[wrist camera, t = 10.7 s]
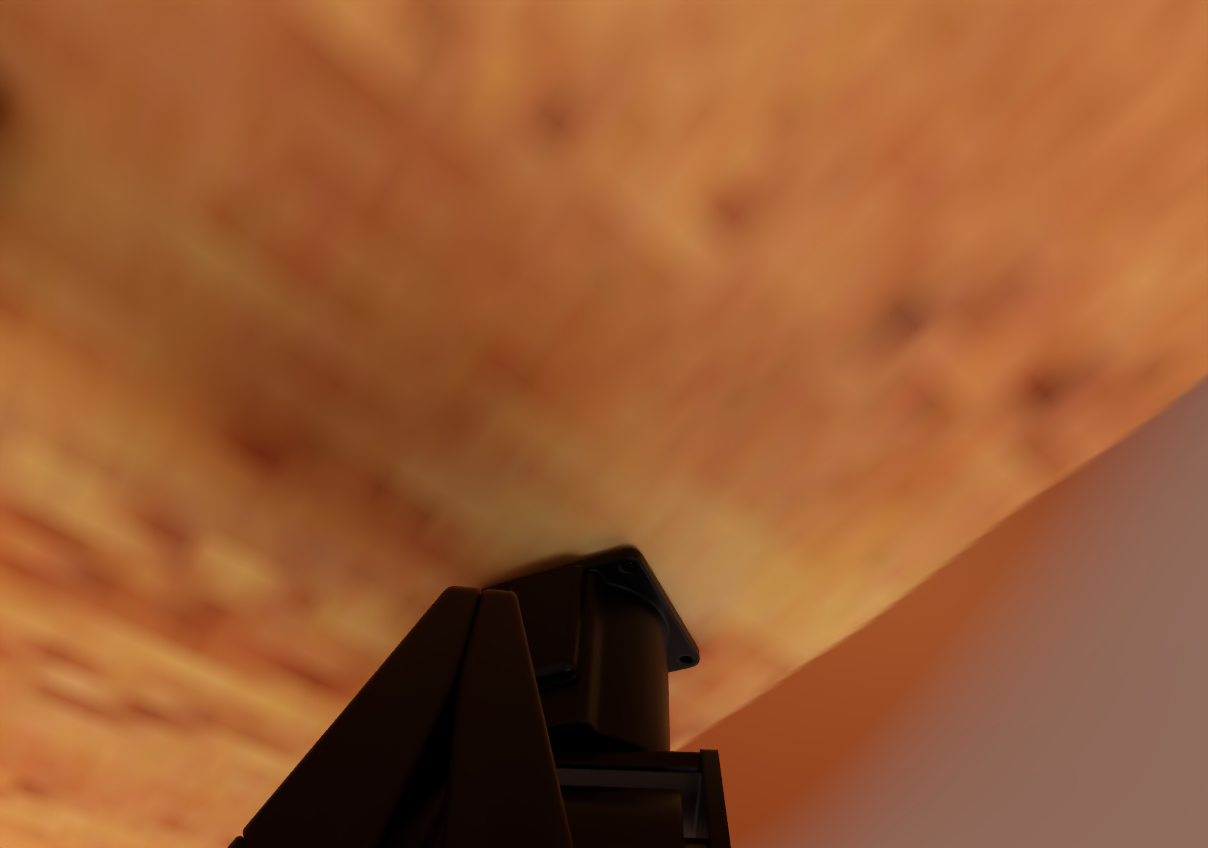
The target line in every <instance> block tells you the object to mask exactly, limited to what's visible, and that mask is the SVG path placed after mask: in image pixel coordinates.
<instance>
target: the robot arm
mask: <svg viewBox="0 0 1208 848" xmlns="http://www.w3.org/2000/svg"><path fill="white" fill-rule="evenodd" d="M625 562H631V564H627V563H625ZM699 660H700V659H699V649H698V647H697V645H696V644H695V642H694V640H693V639H692V637H691V635H690V634H689V632H688V630H687V629H686V627H685V625H684V624H683V622H682V620H681V619H680V617H679V615H678V614H677V612H676V610H675V609H674V607H673V605H672V604H671V602H670V600H669V599H668V597H667V595H666V594H665V592H664V590H663V589H662V587H661V585H660V584H659V582H658V580H657V579H656V577H655V575H654V574H653V572H652V570H651V569H650V567H649V565H648V564H647V562H646V560H645V559H644V557H643V555H642V554H641V553H640V552H639V551H637V550H635V549H629V548H628V549H622V550H618V551H615V552H611V553H608V554H604V555H601V556H597V557H594V558H590V559H587V560H583V561H580V562H576V563H573V564H569V565H566V566H562V567H559V568H555V569H552V570H548V571H545V572H541V573H538V574H534V575H531V576H527V577H524V578H520V579H517V580H513V581H510V582H506V583H503V584H499V585H496V586H492V587H489V588H485V589H483V590H480V589H478V588H472V587H462V586H450V587H448V588H447V589H445V590H444V592H443V593H442V594H441V595H440V596H439V597H438V599H437V600H436V601H435V602H434V603H433V604H432V606H431V607H430V608H429V609H428V610H427V612H426V613H425V614H424V615H423V616H422V618H421V619H420V620H419V621H418V622H417V623H416V625H415V626H414V627H413V628H412V629H411V631H410V632H409V633H408V634H407V635H406V637H405V638H404V639H403V640H402V641H401V642H400V644H399V645H398V646H397V647H396V648H395V650H394V651H393V652H392V653H391V654H390V656H389V657H388V658H387V659H386V660H385V662H384V663H383V664H382V665H381V666H380V667H379V669H378V670H377V671H376V672H375V673H374V675H373V676H372V677H371V678H370V679H369V681H368V682H367V683H366V684H365V685H364V686H363V688H362V689H361V690H360V691H359V692H358V694H357V695H356V696H355V697H354V698H353V700H352V701H351V702H350V703H349V704H348V705H347V707H346V708H345V709H344V710H343V711H342V713H341V714H340V715H339V716H338V717H337V719H336V720H335V721H334V722H333V723H332V724H331V726H330V727H329V728H328V729H327V730H326V732H325V733H324V734H323V735H322V736H321V738H320V739H319V740H318V741H317V742H316V743H315V745H314V746H313V747H312V748H311V749H310V751H309V752H308V753H307V754H306V755H305V757H304V758H303V759H302V760H301V761H300V762H299V764H298V765H297V766H296V767H295V768H294V770H293V771H292V772H291V773H290V774H289V776H288V777H287V778H286V779H285V780H284V781H283V783H282V784H281V785H280V786H279V787H278V789H277V790H276V791H275V792H274V793H273V795H272V796H271V797H270V798H269V799H268V800H267V802H266V803H265V804H264V805H263V806H262V808H261V809H260V810H259V811H258V812H257V814H256V815H255V816H254V817H253V818H252V819H251V821H250V822H249V823H248V824H247V825H246V827H245V828H244V830H243V837H242V836H238V837H236V838H235V839H234V840H233V842H232V843H231V844H230V845H229V846H228V848H731V845H730V837H729V830H728V822H727V815H726V807H725V800H724V793H723V785H722V777H721V770H720V762H719V755H718V750H710V749H707V750H706V749H700V752H674V751H670V727H669V686H668V672H672V671H677V670H681V669H686V668H690V667H693V666H695V665H697V664H698V663H699Z"/></svg>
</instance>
